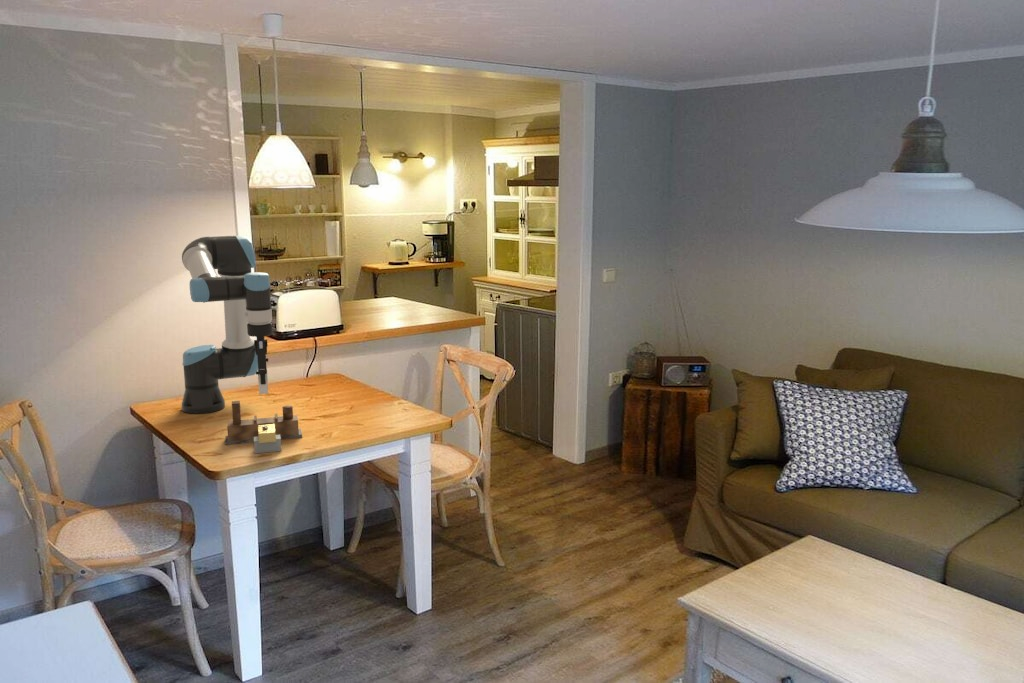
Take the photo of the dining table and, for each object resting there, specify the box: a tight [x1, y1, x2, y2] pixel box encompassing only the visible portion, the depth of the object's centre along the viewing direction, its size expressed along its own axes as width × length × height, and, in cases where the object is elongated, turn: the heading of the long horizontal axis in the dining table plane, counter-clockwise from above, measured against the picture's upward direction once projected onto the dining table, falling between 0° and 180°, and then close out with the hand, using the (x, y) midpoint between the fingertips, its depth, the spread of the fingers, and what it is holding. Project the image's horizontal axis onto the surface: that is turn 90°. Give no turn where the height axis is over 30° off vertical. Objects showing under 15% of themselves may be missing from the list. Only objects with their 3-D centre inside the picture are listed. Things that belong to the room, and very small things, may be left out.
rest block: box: [253, 435, 282, 454], centre depth 241 cm, size 4×8×4 cm, turn 109°
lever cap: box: [258, 424, 276, 443], centre depth 240 cm, size 5×9×4 cm, turn 19°
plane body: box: [224, 400, 303, 446], centre depth 251 cm, size 24×6×13 cm, turn 109°
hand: (263, 387), depth 243 cm, fingers open, 13 cm apart
